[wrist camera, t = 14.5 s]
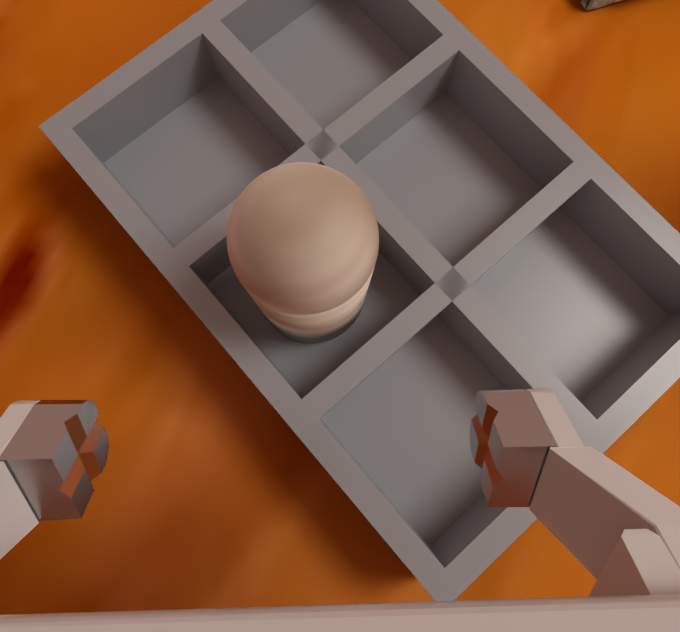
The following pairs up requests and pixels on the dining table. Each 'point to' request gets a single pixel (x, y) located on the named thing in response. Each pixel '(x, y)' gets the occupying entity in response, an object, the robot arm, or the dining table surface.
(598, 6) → the dish towel
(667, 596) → the robot arm
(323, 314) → the egg
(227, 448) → the dining table surface
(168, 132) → the gray compartment tray
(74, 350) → the dining table surface
